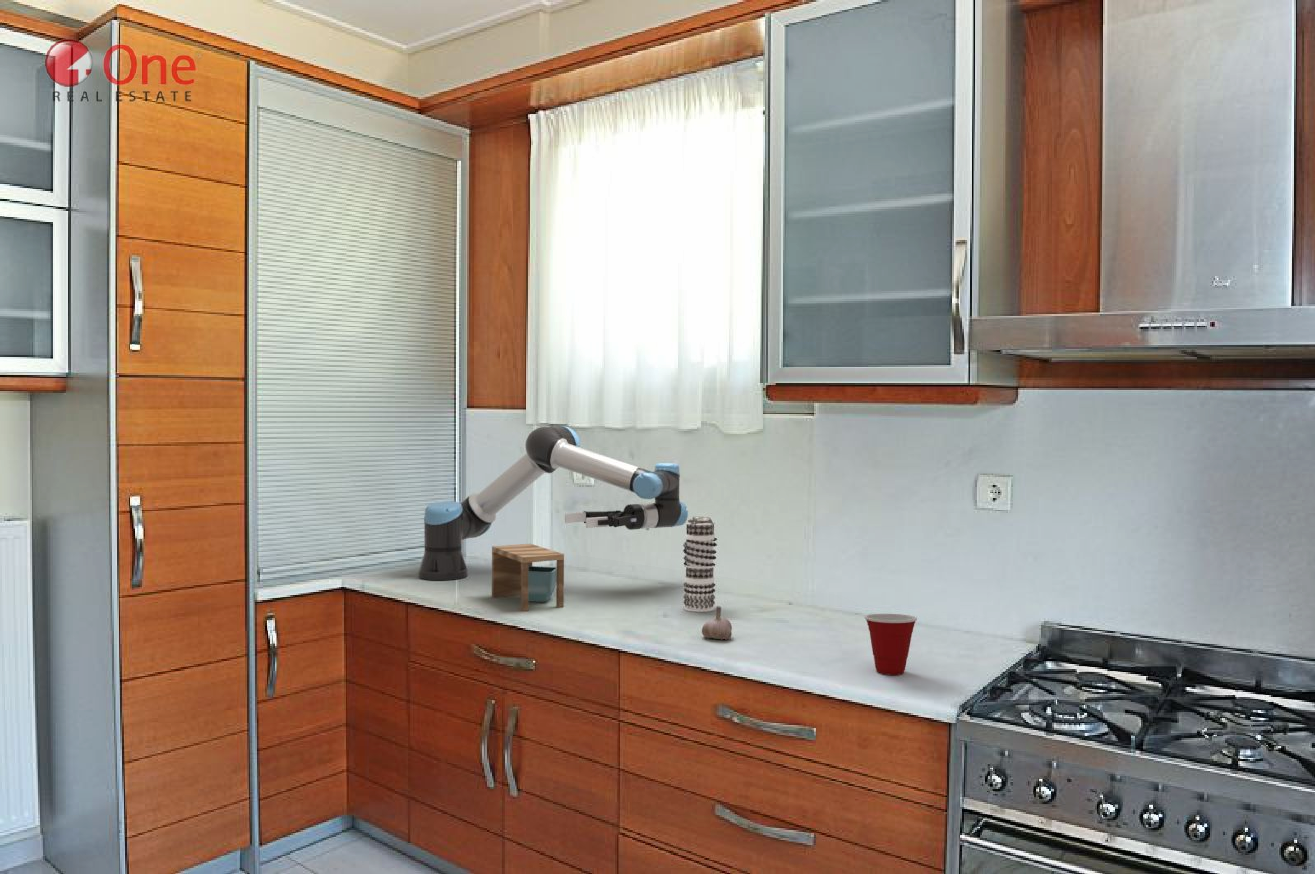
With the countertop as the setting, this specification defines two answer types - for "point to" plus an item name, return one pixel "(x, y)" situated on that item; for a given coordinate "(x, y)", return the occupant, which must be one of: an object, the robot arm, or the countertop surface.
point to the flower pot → (541, 583)
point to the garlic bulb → (717, 627)
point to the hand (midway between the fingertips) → (575, 520)
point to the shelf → (522, 570)
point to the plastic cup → (890, 641)
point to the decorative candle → (699, 565)
